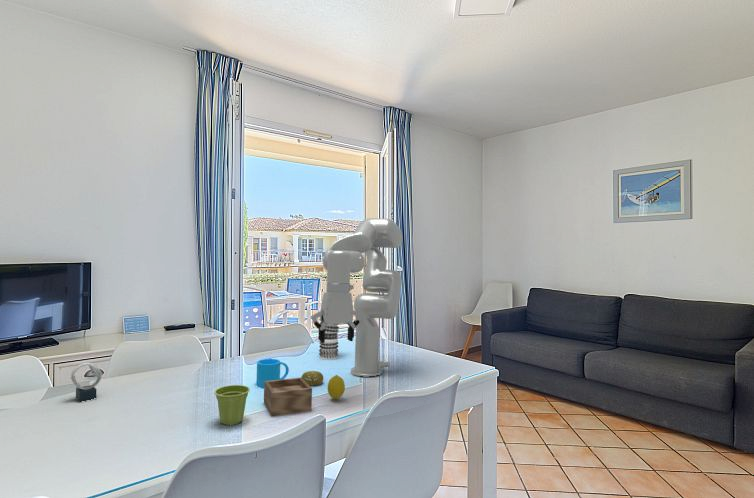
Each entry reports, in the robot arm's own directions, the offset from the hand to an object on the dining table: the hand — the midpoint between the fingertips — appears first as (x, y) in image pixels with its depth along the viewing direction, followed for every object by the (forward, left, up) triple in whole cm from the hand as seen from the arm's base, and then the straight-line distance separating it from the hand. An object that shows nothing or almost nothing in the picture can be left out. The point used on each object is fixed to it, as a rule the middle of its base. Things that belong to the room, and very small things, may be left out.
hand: (336, 341), depth 138 cm
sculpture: (+2, -19, -19) cm, 27 cm away
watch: (+72, -30, -19) cm, 80 cm away
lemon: (0, 0, -19) cm, 19 cm away
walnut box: (+16, 0, -19) cm, 25 cm away
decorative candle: (-16, -52, -19) cm, 58 cm away
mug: (+15, -24, -19) cm, 34 cm away
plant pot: (+33, +5, -19) cm, 38 cm away
